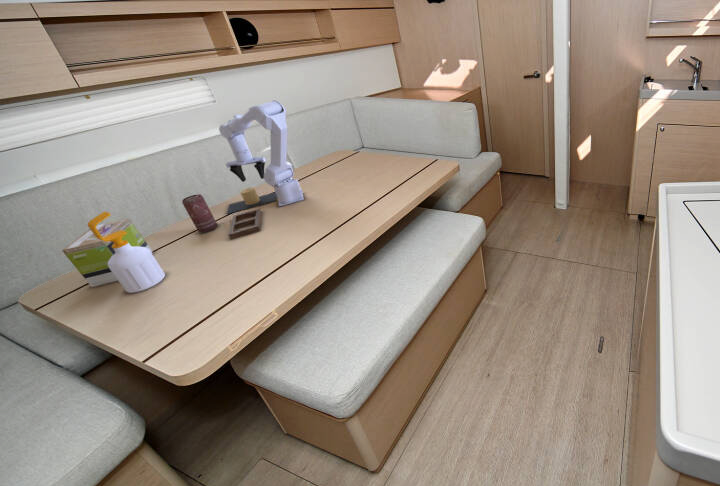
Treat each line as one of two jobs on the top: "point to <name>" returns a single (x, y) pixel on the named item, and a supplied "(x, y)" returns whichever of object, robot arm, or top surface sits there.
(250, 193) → the yellow wooden cylinder
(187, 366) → the top surface
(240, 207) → the mat
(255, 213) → the holder
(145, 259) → the soap bottle
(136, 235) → the tea box
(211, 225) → the can
